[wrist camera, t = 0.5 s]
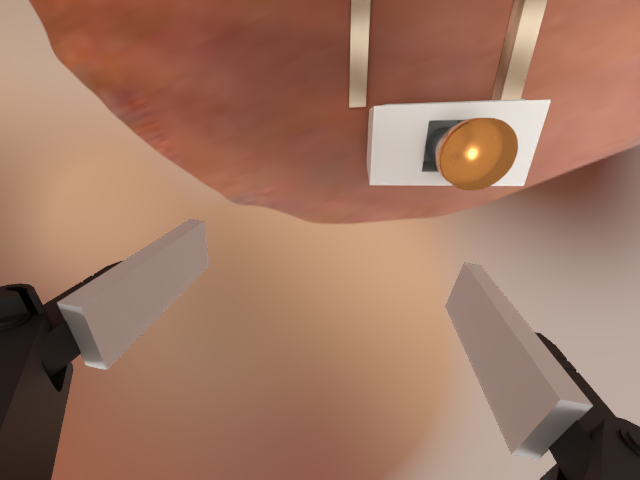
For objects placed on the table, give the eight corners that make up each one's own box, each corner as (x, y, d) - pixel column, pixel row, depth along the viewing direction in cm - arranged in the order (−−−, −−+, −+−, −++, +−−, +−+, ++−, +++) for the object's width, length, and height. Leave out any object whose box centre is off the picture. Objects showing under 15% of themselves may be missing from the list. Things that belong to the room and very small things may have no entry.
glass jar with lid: (420, 118, 25) (448, 118, 17) (474, 116, 24) (527, 116, 16) (414, 169, 27) (436, 190, 19) (463, 168, 26) (506, 190, 18)
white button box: (369, 108, 33) (374, 104, 22) (485, 104, 31) (551, 97, 21) (366, 164, 36) (369, 185, 25) (472, 164, 34) (523, 185, 24)
